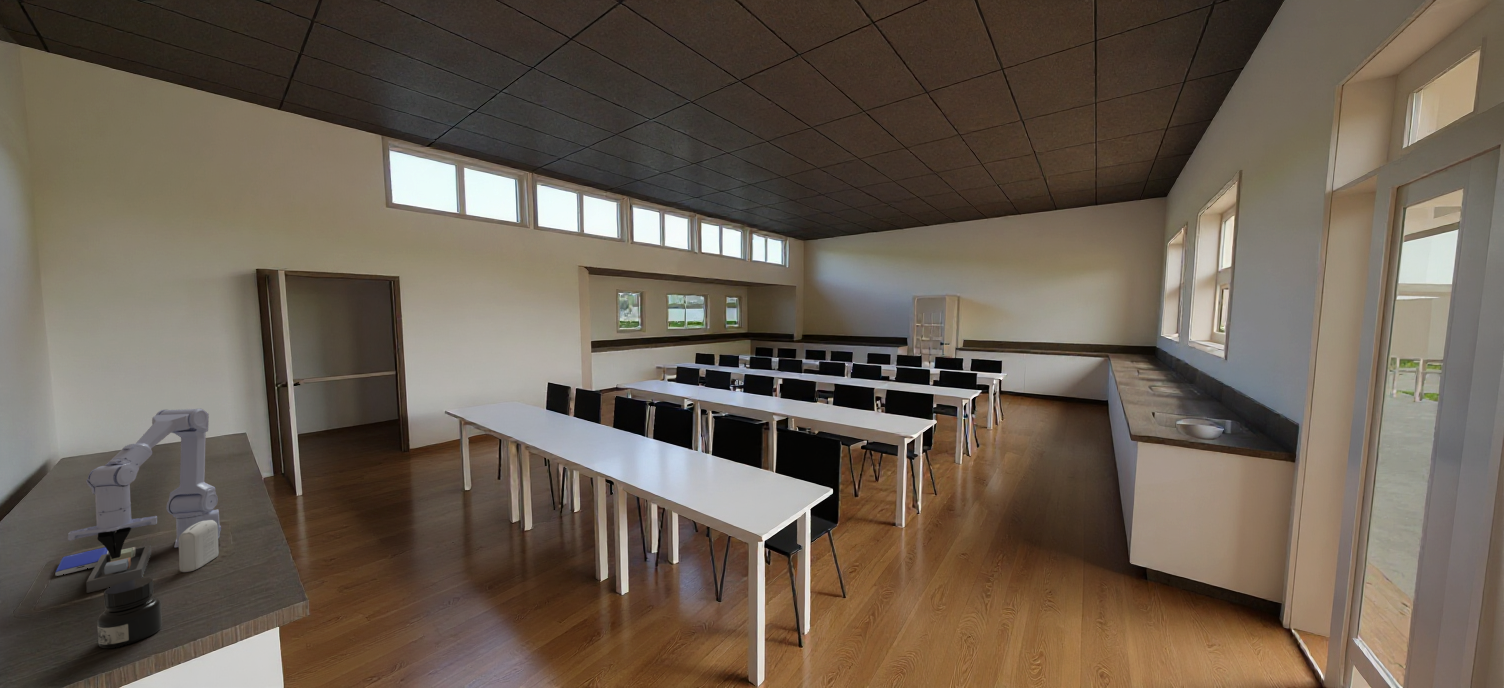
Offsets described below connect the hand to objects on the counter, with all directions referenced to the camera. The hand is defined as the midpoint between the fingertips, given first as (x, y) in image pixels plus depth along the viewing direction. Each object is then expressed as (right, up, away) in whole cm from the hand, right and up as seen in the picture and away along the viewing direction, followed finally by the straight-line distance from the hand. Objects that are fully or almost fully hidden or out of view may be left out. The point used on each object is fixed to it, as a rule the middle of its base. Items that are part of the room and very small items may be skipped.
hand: (116, 557), depth 131 cm
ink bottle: (+34, -8, -22) cm, 41 cm away
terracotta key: (-3, -5, +3) cm, 7 cm away
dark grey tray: (-5, -7, +5) cm, 10 cm away
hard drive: (-22, -6, +9) cm, 24 cm away
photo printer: (+12, -7, +10) cm, 17 cm away
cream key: (-10, -5, +10) cm, 15 cm away
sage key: (-7, -4, +6) cm, 10 cm away
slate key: (0, -4, 0) cm, 4 cm away
